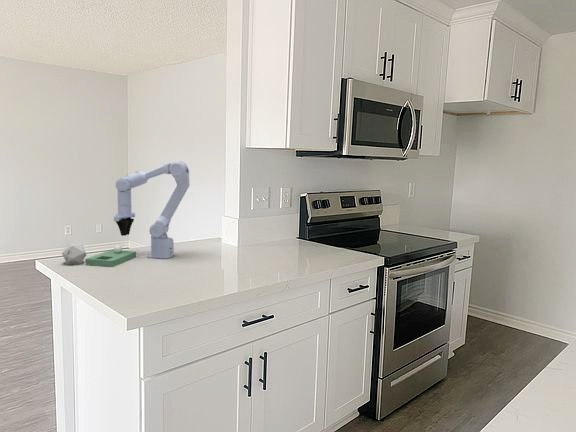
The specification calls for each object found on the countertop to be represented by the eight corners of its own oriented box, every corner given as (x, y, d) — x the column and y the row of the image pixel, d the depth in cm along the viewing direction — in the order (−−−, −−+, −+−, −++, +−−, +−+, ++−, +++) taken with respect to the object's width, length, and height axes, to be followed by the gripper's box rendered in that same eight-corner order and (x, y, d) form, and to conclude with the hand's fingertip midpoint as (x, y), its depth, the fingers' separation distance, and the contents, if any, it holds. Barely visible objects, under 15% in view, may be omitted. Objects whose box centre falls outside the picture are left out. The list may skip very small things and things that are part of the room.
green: (136, 257, 203) (136, 251, 203) (112, 267, 185) (112, 261, 184) (111, 255, 205) (111, 249, 205) (85, 264, 187) (85, 259, 186)
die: (59, 264, 190) (55, 248, 183) (75, 250, 196) (72, 234, 189) (76, 272, 188) (72, 257, 181) (91, 259, 194) (89, 243, 188)
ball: (123, 252, 201) (123, 244, 200) (119, 253, 197) (119, 245, 197) (116, 251, 201) (116, 243, 201) (112, 253, 198) (112, 245, 198)
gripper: (125, 202, 210) (125, 231, 212) (107, 206, 196) (107, 237, 198) (139, 203, 209) (139, 232, 211) (122, 206, 195) (122, 238, 197)
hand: (125, 235), depth 204 cm, fingers closed
